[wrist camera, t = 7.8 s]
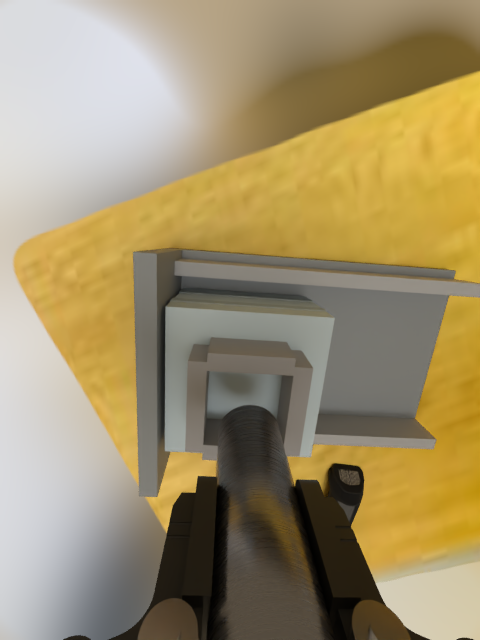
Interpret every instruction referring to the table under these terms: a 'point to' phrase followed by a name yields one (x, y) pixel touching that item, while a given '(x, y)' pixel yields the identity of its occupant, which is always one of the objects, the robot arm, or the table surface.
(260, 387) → the square socket block
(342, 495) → the electric trimmer
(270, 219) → the table surface
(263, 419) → the handle peg
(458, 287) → the bay
